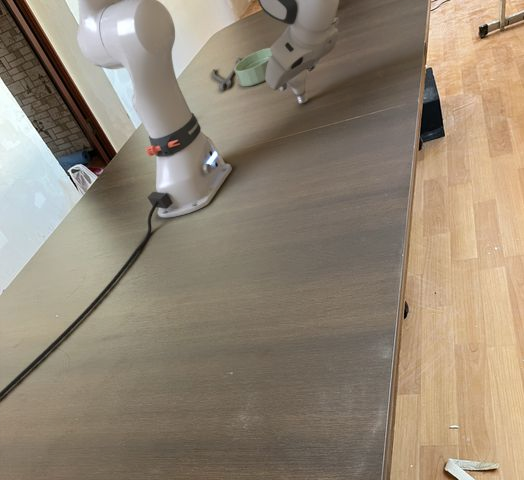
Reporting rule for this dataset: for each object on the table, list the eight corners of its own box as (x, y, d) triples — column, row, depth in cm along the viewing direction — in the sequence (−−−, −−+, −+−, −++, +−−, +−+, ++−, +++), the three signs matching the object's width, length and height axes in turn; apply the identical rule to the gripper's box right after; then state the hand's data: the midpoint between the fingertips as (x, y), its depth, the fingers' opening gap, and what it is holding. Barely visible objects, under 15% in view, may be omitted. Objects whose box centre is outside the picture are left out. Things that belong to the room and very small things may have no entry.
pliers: (239, 56, 175) (240, 80, 157) (240, 59, 175) (241, 82, 158) (212, 69, 177) (209, 93, 160) (213, 71, 178) (211, 96, 161)
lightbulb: (309, 94, 132) (296, 51, 124) (319, 99, 127) (306, 55, 120) (288, 106, 132) (274, 64, 124) (298, 111, 127) (283, 68, 120)
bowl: (277, 78, 149) (271, 61, 145) (236, 92, 154) (229, 76, 151) (285, 59, 157) (280, 42, 154) (245, 73, 163) (239, 57, 160)
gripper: (332, 3, 113) (318, 47, 127) (265, 50, 110) (258, 89, 123) (349, 24, 113) (333, 66, 127) (283, 71, 110) (274, 109, 123)
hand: (296, 78), depth 125 cm, fingers open, 8 cm apart
